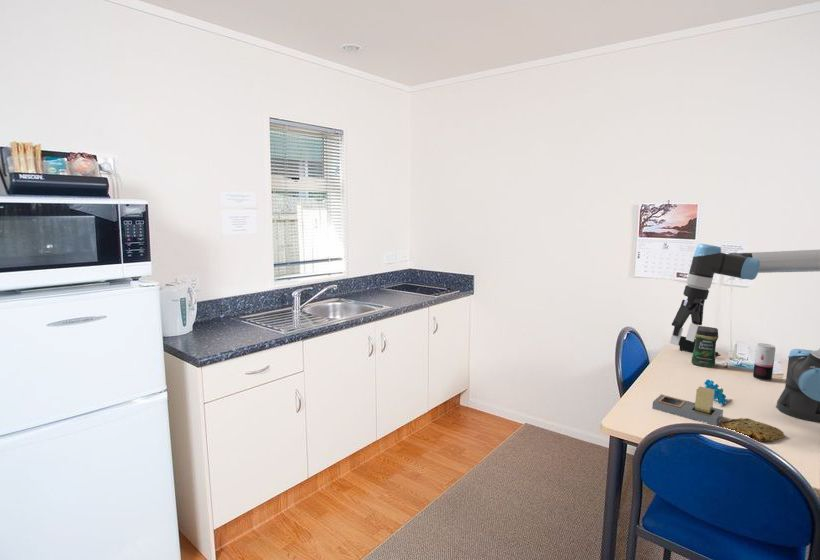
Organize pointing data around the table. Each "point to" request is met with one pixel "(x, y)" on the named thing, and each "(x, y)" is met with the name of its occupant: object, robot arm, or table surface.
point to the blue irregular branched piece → (716, 391)
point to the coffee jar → (705, 346)
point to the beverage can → (764, 362)
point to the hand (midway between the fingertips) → (682, 342)
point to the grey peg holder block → (686, 409)
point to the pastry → (754, 429)
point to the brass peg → (704, 400)
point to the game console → (688, 345)
